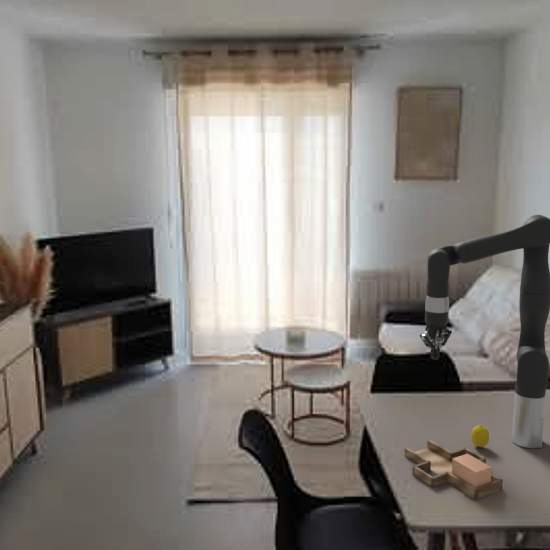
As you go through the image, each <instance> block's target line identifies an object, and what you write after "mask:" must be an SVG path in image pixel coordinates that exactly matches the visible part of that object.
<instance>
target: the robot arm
mask: <svg viewBox="0 0 550 550" xmlns="http://www.w3.org/2000/svg"><path fill="white" fill-rule="evenodd" d="M515 250H516V251H517V250H522V251H523V259H522V268H521V275H520V284H519V285H520V286H519V287H520V288H519V300H518V301H519V303H518V304H519V320H520V322H519V323H520V332H519V339H518V340H519V341H518V347H517V351H516V362H517V363H516V364H517V365H516V366H517V367H516V368H517V370H516V381H515V385H514V400H513V401H514V402H513V403H514V404H513V414H512V415H513V417H512V430H511V441H512V442H513V443H514V444H515V445H517V446H519V447H523V448H528V449H536V448H537V449H538V448H540V449H542V447H543V438H544V436H543V435H544V424H545V423H544V422H545V417H544V416H545V407H546V406H545V404H546V394H547V393H546V392H547V389H548V381H549V373H550V372H549V371H550V370H549V369H550V359H549V357H548V354H547V351H546V342H545V341H546V339H545V337H546V335H545V334H546V326H547V322H548V318H549V316H550V315H549V314H550V266H549V265H550V264H549V252H550V217H549V218H548V217H547V216H545V215H542V214H534V215H532V216H530V217H528V218H526V220H525V221H524V223H523V225H521V226H519V227H516V228H514V229H511V230H507V231H504V232H500V233H493V234H488V235H483V236H479V237H475V238H471V239H467V240H464V241H461V242H459V243H455V244H450V245H449V244H448V245H444V246H440V247H437V248H434V249H432V250H431V251H429V254H428V256H427V282H426V297H425V304H424V305H425V306H424V307H425V308H424V309H425V310H424V313H425V314H424V322H425V324H426V325H425V328H424V330H425V331H424V333H420V334H419V338H420V339H421V341H422V342H423V344H424V345H425V346H426V347H427V348H428V349H429V348H430V358H431V359H432V360H435V361H436V360H439V359H440V356H441V348H442V347H444V346H445V345H446V343H448V340H449V339H450V337H451V334H452V331H453V330H451V329H449V328H448V325H447V324H448V323H449V313H450V312H449V311H450V300H449V291H450V289H449V287H450V285H449V277H450V269H451V268H450V267H451V266H455V265H457V264H469V263H472V262H473V263H474V262H477V261H481V260H483V259H486V258H490V257H493V256H496V255H500V254H503V253H507V252H512V251H515Z"/></svg>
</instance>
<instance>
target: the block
mask: <svg viewBox="0 0 550 550" xmlns="http://www.w3.org/2000/svg"><path fill="white" fill-rule="evenodd" d="M452 474H453V475H455V476H456V477H458V478H460V479H461V480H463V481H465V482H466V483H468V484H470V485H472V486H473V487H475V488H479V487H481V486H484V485H486V484H489V483H491V474H492V466H490V465H489V464H487V463H486V464H485V463H483V462H482V461H480V460H478V459H476V458H475V457H473V456H471V455H469V454H465V455H462V456H459V457H456V458H453V459H452Z"/></svg>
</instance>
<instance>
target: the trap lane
mask: <svg viewBox="0 0 550 550" xmlns="http://www.w3.org/2000/svg"><path fill="white" fill-rule="evenodd" d="M426 446H427V447H426V448H423V449H420V450H417V451H414V450H412V449H410V448H409V447H404V457H406V458H407V459H409V460H410V461H413V462H414V463H416V464H415V465H413V466H412V472H411V473H412V474H411V475H413V476H414V477H415V478H417V479H419V480H421V481H422V482H424V483H425V484H427V485H428V486H430V487H432V488H435V487H437V486H440V485H442V484H446V483H448V484H450V485H452V486H453V487H456V488H457V489H459V490H460V491H462V492H463V493H464V494H465V495H467V496H468V497H470V498H471V499H473V500H475V501H478V500H481V499H483V498H485V497H487V496H490V495H492V494H494V493H497V492H500V491H502V490H503V484H504V483H503V480H504V479H502V478H500V477H499V476H497V475H495V474H493V473H491V483H489V484H486V485H484V486H481V487H479V488H475V487H473V486H472V485H470V484H468V483H466V482H465V481H463V480H461V479H460V478H458V477H456V476H455V475H453V474H452V459H453V458H456V457H459V456H462V455H465V454H469V455H471V456H473V457H475V458H476V459H478V460H480V461H482V462H483V463H485V464H487V458H486V457H484V456H483V455H480V454H478V453H476V452H474V451H472V450H471V449H469V448H467V447H463V448H460V449H457V450H453V451H450V450H449V449H447V448H445V447H444V446H442V445H440V444H438V443H436V442H434V441H433V440H430V439H427V445H426Z"/></svg>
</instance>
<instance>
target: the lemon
mask: <svg viewBox="0 0 550 550" xmlns="http://www.w3.org/2000/svg"><path fill="white" fill-rule="evenodd" d="M470 439H471V441H472V443H473V445H474V446H475V447H477V448H484V447H486V446H487V445H488V443H489V441H490V433H489V430H488V428H487V427H485V426H484V425H483V424H478V425H476V426H474V427H473V429H472V430H471V434H470Z"/></svg>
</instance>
